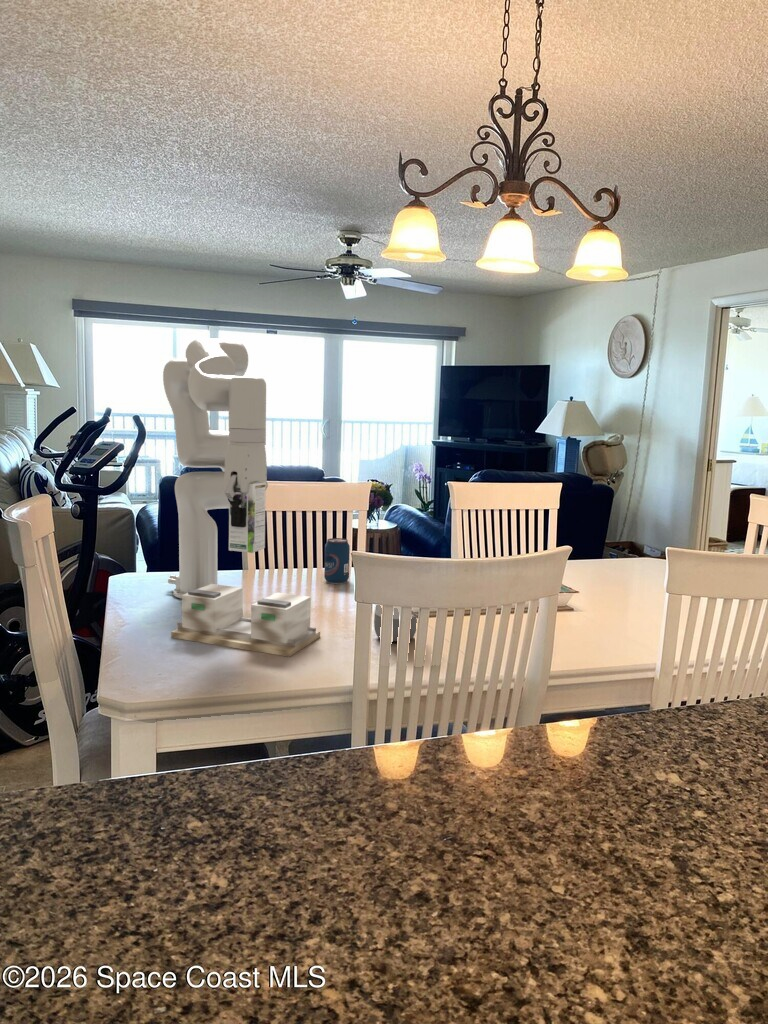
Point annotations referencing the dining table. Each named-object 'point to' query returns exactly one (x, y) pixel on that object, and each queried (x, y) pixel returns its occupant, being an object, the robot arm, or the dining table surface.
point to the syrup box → (250, 522)
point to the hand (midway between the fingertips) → (246, 523)
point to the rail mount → (246, 620)
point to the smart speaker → (395, 623)
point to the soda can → (337, 561)
